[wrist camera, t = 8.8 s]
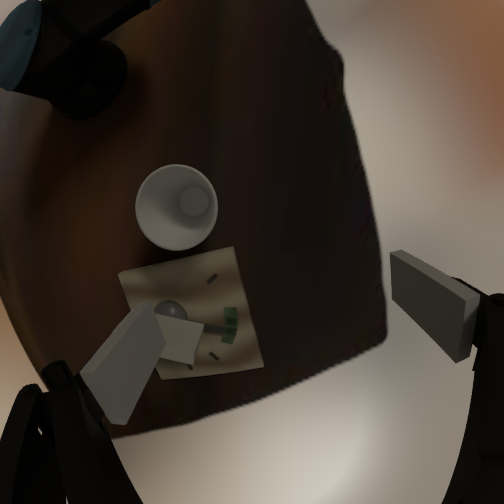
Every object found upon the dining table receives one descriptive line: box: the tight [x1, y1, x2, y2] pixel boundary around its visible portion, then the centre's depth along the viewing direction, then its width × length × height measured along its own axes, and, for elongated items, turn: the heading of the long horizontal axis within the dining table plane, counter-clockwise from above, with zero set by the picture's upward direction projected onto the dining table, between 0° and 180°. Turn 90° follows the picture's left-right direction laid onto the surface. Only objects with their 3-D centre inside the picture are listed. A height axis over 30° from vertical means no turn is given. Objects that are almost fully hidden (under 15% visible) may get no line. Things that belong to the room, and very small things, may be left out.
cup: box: [135, 164, 218, 251], centre depth 36 cm, size 10×10×11 cm
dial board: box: [118, 246, 264, 380], centre depth 46 cm, size 22×20×1 cm
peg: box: [113, 300, 226, 365], centre depth 40 cm, size 15×6×10 cm, turn 80°
